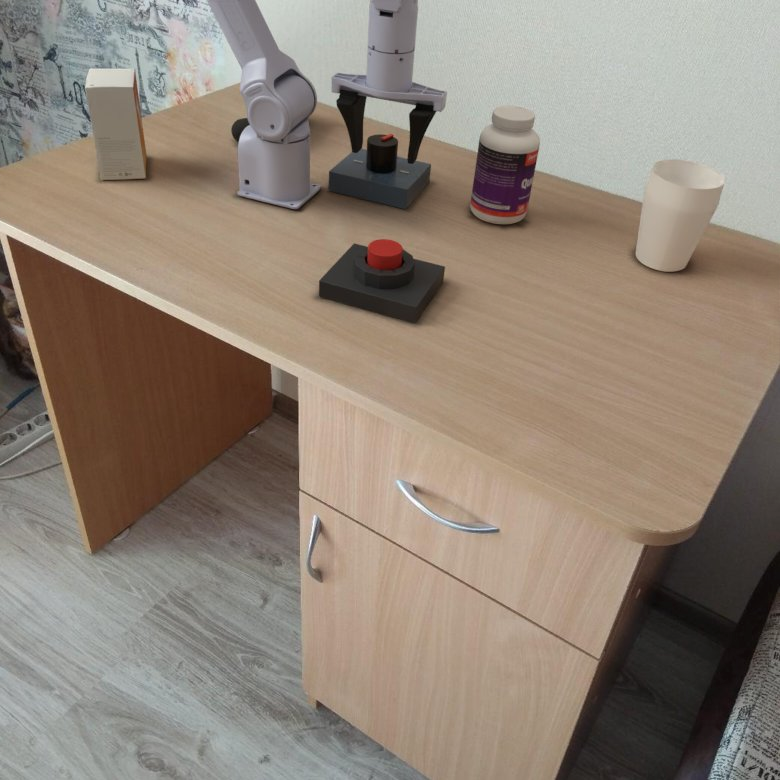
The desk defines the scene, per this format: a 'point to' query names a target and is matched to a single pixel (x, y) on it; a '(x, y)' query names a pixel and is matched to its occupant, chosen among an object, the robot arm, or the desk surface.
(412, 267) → the button housing
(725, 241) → the desk surface
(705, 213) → the cup
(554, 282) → the desk surface
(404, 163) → the dial panel
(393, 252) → the lid button
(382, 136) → the dial
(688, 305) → the desk surface
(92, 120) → the small box
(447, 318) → the desk surface
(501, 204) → the pill bottle
